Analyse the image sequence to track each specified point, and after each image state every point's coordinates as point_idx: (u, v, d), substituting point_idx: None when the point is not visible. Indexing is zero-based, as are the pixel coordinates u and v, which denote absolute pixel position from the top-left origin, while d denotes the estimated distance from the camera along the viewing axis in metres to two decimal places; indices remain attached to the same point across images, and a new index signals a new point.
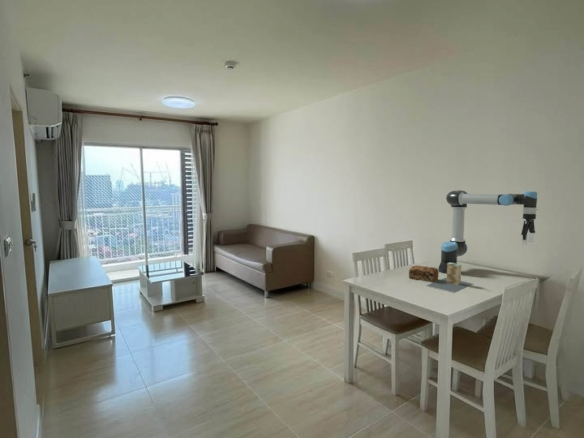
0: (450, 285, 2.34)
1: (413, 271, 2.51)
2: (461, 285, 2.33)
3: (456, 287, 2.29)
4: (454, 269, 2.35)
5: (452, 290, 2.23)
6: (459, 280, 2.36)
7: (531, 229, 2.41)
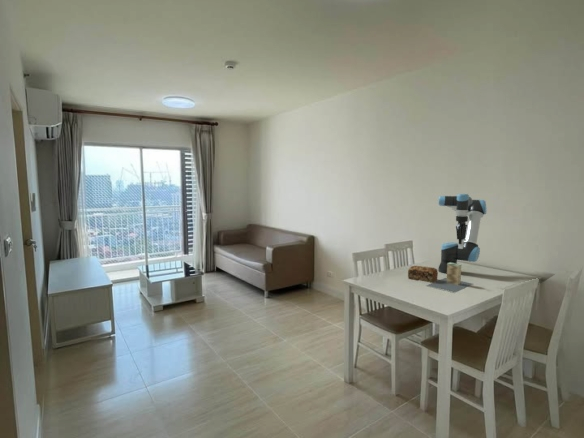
0: (450, 285, 2.34)
1: (412, 271, 2.50)
2: (461, 285, 2.33)
3: (456, 287, 2.29)
4: (454, 269, 2.35)
5: (452, 290, 2.23)
6: (459, 280, 2.36)
7: None
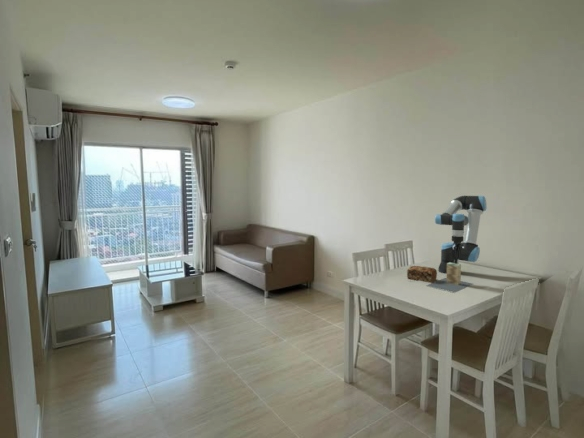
0: (450, 285, 2.34)
1: (411, 271, 2.50)
2: (461, 285, 2.33)
3: (456, 287, 2.29)
4: (454, 269, 2.35)
5: (452, 290, 2.23)
6: (459, 280, 2.35)
7: None
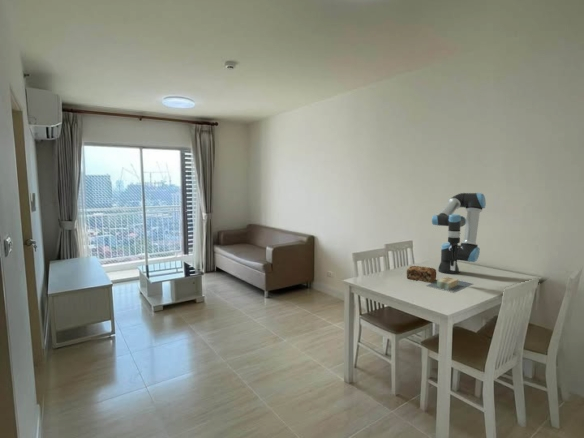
0: None
1: (411, 271, 2.50)
2: (461, 285, 2.33)
3: (456, 287, 2.29)
4: None
5: (452, 290, 2.23)
6: (456, 282, 2.32)
7: None
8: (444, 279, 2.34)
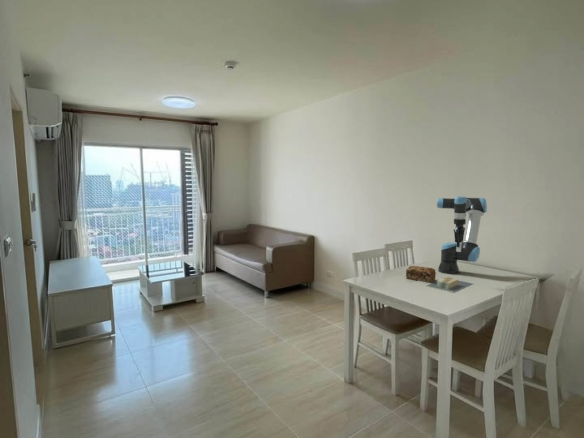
0: None
1: (410, 271, 2.50)
2: (461, 285, 2.33)
3: (456, 287, 2.29)
4: None
5: (452, 290, 2.23)
6: (456, 282, 2.32)
7: None
8: (444, 279, 2.34)
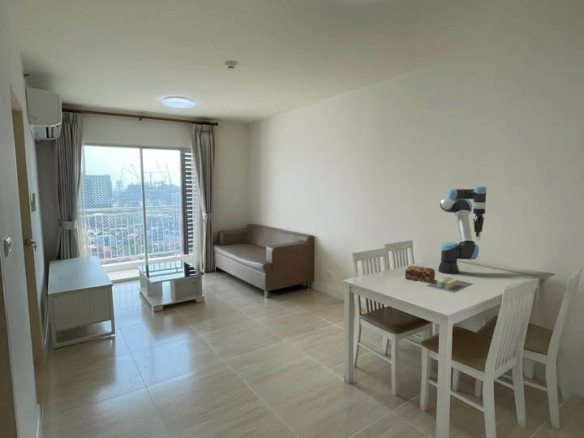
0: None
1: (409, 271, 2.50)
2: (461, 285, 2.33)
3: (456, 287, 2.29)
4: None
5: (452, 290, 2.23)
6: (456, 282, 2.32)
7: None
8: (444, 279, 2.34)
